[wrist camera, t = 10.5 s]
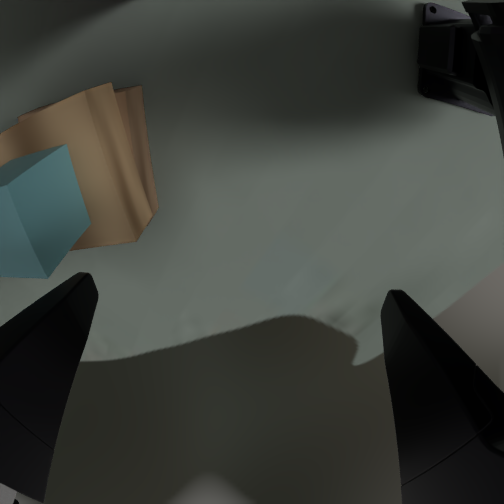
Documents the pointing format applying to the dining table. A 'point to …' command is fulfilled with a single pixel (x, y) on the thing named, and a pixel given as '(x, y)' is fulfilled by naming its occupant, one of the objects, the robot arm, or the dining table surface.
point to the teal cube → (39, 213)
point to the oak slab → (90, 162)
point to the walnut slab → (131, 136)
